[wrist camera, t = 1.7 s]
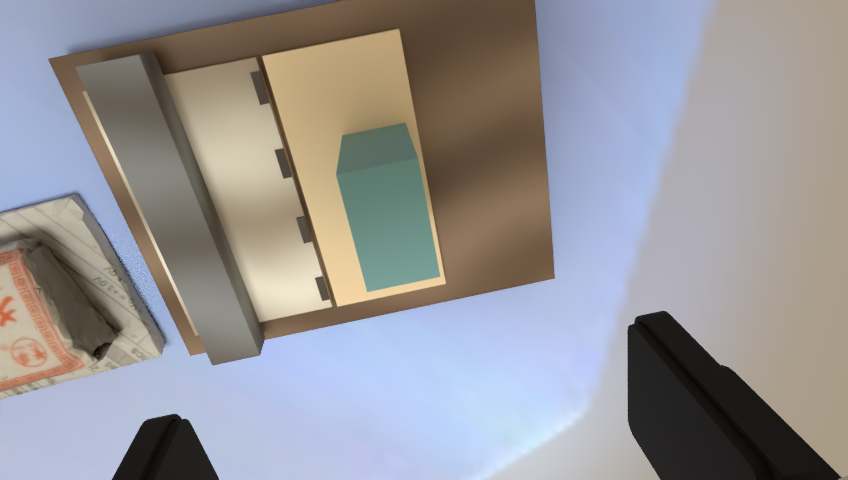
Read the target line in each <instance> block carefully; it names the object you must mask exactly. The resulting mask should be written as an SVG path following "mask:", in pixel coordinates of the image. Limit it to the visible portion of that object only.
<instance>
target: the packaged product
mask: <svg viewBox="0 0 848 480" xmlns="http://www.w3.org/2000/svg"><path fill="white" fill-rule="evenodd" d="M164 344H165V341H164V339H163V337H162V335H161V333H160V331H159V329H158V328H157V326H156V324H155V322H154V321H153V319H152V317H151V315H150V314H149V312H148V310H147V308H146V307H145V305H144V303H143V302H142V300H141V298H140V296H139V295H138V293H137V291H136V290H135V288H134V286H133V284H132V282H131V280H130V279H129V277H128V275H127V273H126V271H125V269H124V268H123V266H122V264H121V262H120V261H119V259H118V257H117V255H116V254H115V252H114V250H113V248H112V247H111V245H110V243H109V241H108V240H107V238H106V236H105V234H104V233H103V231H102V229H101V227H100V226H99V224H98V222H97V221H96V219H95V218H94V217H93V215H92V214H91V212H90V211H89V210H88V208H87V207H86V205H85V204H84V203H83V201H82V200H81V198H80V197H79V196H78V194H76V195H72V196H68V197H64V198H60V199H55V200H51V201H47V202H43V203H39V204H35V205H31V206H27V207H23V208H19V209H15V210H11V211H7V212H3V213H0V400H1V399H4V398H6V397H9V396H14V395H19V394H23V393H26V392H29V391H33V390H37V389H40V388H44V387H48V386H52V385H55V384H58V383H61V382H64V381H68V380H74V379H79V378H82V377H86V376H90V375H94V374H97V373H100V372H104V371H108V370H112V369H116V368H119V367H122V366H127V365H131V364H133V363H136V362H140V361H144V360H147V359H153V358H157V357H159V356H161V355H162V352H163V348H164Z"/></svg>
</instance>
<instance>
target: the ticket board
mask: <svg viewBox="0 0 848 480" xmlns="http://www.w3.org/2000/svg"><path fill="white" fill-rule="evenodd" d="M394 29H399V31H400V36H401V42H402V47H403V53H404V58H405V64H406V69H407V75H408V80H409V85H410V91H411V96H412V102H413V107H414V113H415V118H416V124H417V129H418V134H419V140H420V145H421V151H422V156H423V162H424V167H425V172H426V178H427V183H428V189H429V194H430V200H431V205H432V211H433V216H434V221H435V227H436V232H437V238H438V243H439V249H440V254H441V260H442V265H443V270H444V276H445V281H446V284H443V285H438V286H433V287H429V288H424V289H419V290H414V291H410V292H405V293H400V294H396V295H391V296H386V297H381V298H377V299H372V300H367V301H362V302H358V303H353V304H348V305H343V306H339V307H337V303H336V300H335V297H334V293H333V290H332V287H331V283H330V280H329V277H328V273H327V270H326V267H325V263H324V260H323V257H322V254H321V250H320V247H319V244H318V240H317V237H316V234H315V230H314V227H313V224H312V220H311V217H310V214H309V210H308V207H307V204H306V200H305V197H304V194H303V190H302V187H301V184H300V181H299V177H298V174H297V171H296V167H295V164H294V161H293V157H292V154H291V151H290V147H289V144H288V141H287V137H286V134H285V131H284V127H283V124H282V121H281V118H280V114H279V111H278V108H277V104H276V101H275V98H274V94H273V91H272V88H271V84H270V81H269V78H268V74H267V71H266V68H265V64H264V61H263V58H262V56H264V55H268V54H273V53H278V52H283V51H288V50H293V49H298V48H303V47H308V46H313V45H318V44H323V43H328V42H333V41H338V40H343V39H348V38H353V37H358V36H363V35H368V34H374V33H379V32H384V31H389V30H394ZM48 60H49V62H50V64H51V66H52V68H53V70H54V72H55V74H56V76H57V78H58V80H59V83H60V85H61V87H62V89H63V91H64V93H65V95H66V97H67V99H68V101H69V103H70V106H71V108H72V110H73V112H74V114H75V116H76V118H77V120H78V122H79V124H80V126H81V128H82V131H83V133H84V135H85V137H86V139H87V141H88V143H89V145H90V147H91V149H92V151H93V153H94V156H95V158H96V160H97V162H98V164H99V166H100V168H101V170H102V172H103V174H104V176H105V178H106V181H107V183H108V185H109V187H110V189H111V191H112V193H113V195H114V197H115V199H116V201H117V204H118V206H119V208H120V210H121V212H122V214H123V216H124V218H125V220H126V222H127V224H128V226H129V229H130V231H131V233H132V235H133V237H134V239H135V241H136V243H137V245H138V247H139V249H140V251H141V254H142V256H143V258H144V260H145V262H146V264H147V266H148V268H149V270H150V272H151V274H152V276H153V279H154V281H155V283H156V285H157V287H158V289H159V291H160V293H161V295H162V297H163V299H164V302H165V304H166V306H167V308H168V310H169V312H170V314H171V316H172V318H173V320H174V322H175V324H176V327H177V329H178V331H179V333H180V335H181V337H182V339H183V341H184V343H185V345H186V347H187V349H188V352H189V354H190V356H191V355H196V354H201V353H205V352H207V355H208V357H209V359H210V361H211V363H212V365H217V364H221V363H226V362H231V361H235V360H240V359H245V358H250V357H254V356H259V355H260V353H261V350H262V346H263V343H264V340H267V339H271V338H276V337H281V336H285V335H290V334H295V333H300V332H304V331H309V330H314V329H318V328H323V327H328V326H333V325H337V324H342V323H347V322H351V321H356V320H361V319H366V318H370V317H375V316H380V315H384V314H389V313H394V312H399V311H403V310H408V309H413V308H417V307H422V306H427V305H432V304H436V303H441V302H446V301H450V300H455V299H460V298H465V297H469V296H474V295H479V294H483V293H488V292H493V291H498V290H502V289H507V288H512V287H516V286H521V285H526V284H531V283H535V282H540V281H545V280H549V279H554V278H555V275H554V261H553V247H552V233H551V219H550V205H549V192H548V178H547V164H546V150H545V136H544V123H543V109H542V95H541V81H540V67H539V54H538V40H537V26H536V12H535V0H344V1H339V2H334V3H329V4H324V5H319V6H314V7H309V8H304V9H299V10H293V11H288V12H283V13H278V14H273V15H268V16H263V17H258V18H253V19H248V20H243V21H238V22H233V23H227V24H222V25H217V26H212V27H207V28H202V29H197V30H192V31H187V32H182V33H177V34H172V35H167V36H161V37H156V38H151V39H146V40H141V41H136V42H131V43H126V44H121V45H116V46H111V47H106V48H101V49H96V50H90V51H85V52H80V53H75V54H70V55H65V56H60V57H55V58H50V59H48Z"/></svg>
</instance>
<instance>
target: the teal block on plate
mask: <svg viewBox="0 0 848 480" xmlns="http://www.w3.org/2000/svg"><path fill="white" fill-rule="evenodd" d="M262 58H263V61H264V64H265V68H266V71H267V74H268V78H269V81H270V84H271V88H272V91H273V94H274V98H275V101H276V104H277V108H278V111H279V114H280V118H281V121H282V124H283V127H284V131H285V134H286V137H287V141H288V144H289V147H290V151H291V154H292V157H293V161H294V164H295V167H296V171H297V174H298V177H299V181H300V184H301V187H302V190H303V194H304V197H305V200H306V204H307V207H308V210H309V214H310V217H311V220H312V224H313V227H314V230H315V234H316V237H317V240H318V244H319V247H320V250H321V254H322V257H323V260H324V263H325V267H326V270H327V273H328V277H329V280H330V283H331V287H332V290H333V293H334V297H335V300H336V303H337V307H339V306H343V305H348V304H353V303H358V302H362V301H367V300H372V299H377V298H381V297H386V296H391V295H396V294H400V293H405V292H410V291H414V290H419V289H424V288H429V287H433V286H438V285H443V284H446V281H445V276H444V270H443V265H442V260H441V254H440V249H439V243H438V238H437V232H436V227H435V221H434V216H433V211H432V205H431V200H430V194H429V189H428V183H427V178H426V172H425V167H424V162H423V156H422V151H421V145H420V140H419V134H418V129H417V124H416V118H415V113H414V107H413V102H412V96H411V91H410V85H409V80H408V75H407V69H406V64H405V58H404V53H403V47H402V42H401V36H400V31H399V29H394V30H389V31H384V32H379V33H374V34H368V35H363V36H358V37H353V38H348V39H343V40H338V41H333V42H328V43H323V44H318V45H313V46H308V47H303V48H298V49H293V50H288V51H283V52H278V53H273V54H268V55H264V56H262Z"/></svg>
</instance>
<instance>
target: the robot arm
mask: <svg viewBox="0 0 848 480" xmlns="http://www.w3.org/2000/svg"><path fill="white" fill-rule="evenodd" d="M628 422H629V426H630V429H631V432H632V434H633V436H634V438H635V439H636V441H637V443H638V444H639V446H640V447H641V449H642V451H643V452H644V454H645V455H646V457H647V459H648V460H649V462H650V463H651V465H652V467H653V468H654V470H655V471H656V473H657V475H658V476H659V478H660V479H661V480H848V476H846V477H843V478H841V477H840V476H839V475H838V474H837V473H836V472H835V471H834V470H833V469H832V468H831V467H830V466H829V465H828V464H827V463H826V462H825V461H824V460H823V459H822V458H821V457H820V456H819V455H818V454H817V453H816V452H815V451H814V450H813V449H812V448H811V447H810V446H809V445H808V444H807V443H806V442H805V441H804V440H803V439H802V438H801V437H800V436H799V435H798V434H797V433H796V432H795V431H794V430H793V429H792V428H791V427H790V426H789V425H788V424H787V423H786V422H785V421H784V420H783V419H782V418H781V417H780V416H779V415H778V414H777V413H776V412H775V411H774V410H773V409H772V408H771V407H770V406H769V405H768V404H766V402H764V401H763V400H762V399H761V398H760V397H759V396H758V395H757V394H756V393H755V392H754V391H753V390H752V389H751V388H750V387H749V386H748V385H747V384H746V383H745V382H744V381H743V380H742V379H741V378H740V377H739V376H738V375H737V374H736V373H735V372H734V371H733V370H731V369H730V368H729V367H726V366H723V365H721V366H720V365H719V364H718V363H717V362H716V361H715V359H714V358H712V357H711V356H710V354H709V353H708V352H707V351H705V350H704V348H703V347H702V346H701V345H699V344H698V342H697V341H696V340H695V339H694V338H692V337H691V335H690V334H689V333H688V332H687V331H686V330H685V329H684V328H683V327H682V326H681V325H680V324H679V323H678V322H677V321H676V320H675V319H674V318H673V317H672V316H671V315H670V314H669V313H667V312H666V311H660V312H656V313H651V314H646V315H641V316H638V317H636V319H635V323H634V324H632V325H630V326H629V327H628ZM112 480H219V478H218V476H217V474H216V472H215V470H214V468H213V466H212V464H211V462H210V460H209V458H208V456H207V454H206V453H205V451H204V449H203V447H202V445H201V443H200V441H199V439H198V437H197V435H196V433H195V431H194V429H193V427H192V425H191V423H190V422H189V420H187V419H181V417H180V416H179V415H177V414H171V415H166V416H162V417H157V418H152V419H148V420H146V421H144V423H143V424H142V425H141V427H140V429H139V431H138V432H137V434H136V436H135V438H134V440H133V442H132V443H131V445H130V447H129V449H128V451H127V453H126V455H125V456H124V458H123V460H122V462H121V464H120V466H119V467H118V469H117V471H116V473H115V475H114V477H113V479H112Z"/></svg>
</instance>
